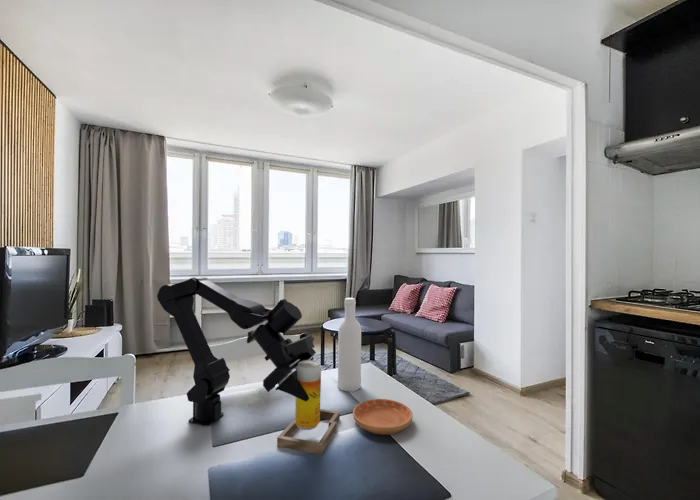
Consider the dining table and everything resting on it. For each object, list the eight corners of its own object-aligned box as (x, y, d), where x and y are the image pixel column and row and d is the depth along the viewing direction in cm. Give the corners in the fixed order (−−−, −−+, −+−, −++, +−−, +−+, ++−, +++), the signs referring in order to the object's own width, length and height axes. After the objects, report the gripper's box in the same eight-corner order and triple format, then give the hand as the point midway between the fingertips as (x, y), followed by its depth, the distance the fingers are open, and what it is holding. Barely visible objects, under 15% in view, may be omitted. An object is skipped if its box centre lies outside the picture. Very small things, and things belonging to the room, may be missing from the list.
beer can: (320, 430, 78) (322, 367, 78) (295, 432, 77) (296, 368, 77) (318, 417, 84) (319, 359, 84) (294, 419, 83) (296, 359, 83)
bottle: (339, 381, 115) (340, 296, 115) (361, 382, 114) (362, 297, 114) (336, 391, 107) (337, 299, 107) (360, 392, 106) (361, 300, 106)
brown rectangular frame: (277, 446, 76) (277, 437, 76) (305, 413, 92) (305, 406, 92) (320, 454, 73) (321, 445, 73) (342, 419, 89) (342, 412, 89)
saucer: (343, 431, 84) (343, 419, 84) (364, 404, 98) (364, 394, 99) (405, 445, 78) (405, 432, 78) (417, 414, 93) (417, 404, 93)
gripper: (276, 333, 73) (321, 389, 69) (309, 317, 90) (347, 361, 87) (244, 364, 75) (287, 420, 72) (283, 342, 93) (319, 387, 89)
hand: (313, 394), depth 80 cm, fingers closed on beer can, 6 cm apart
